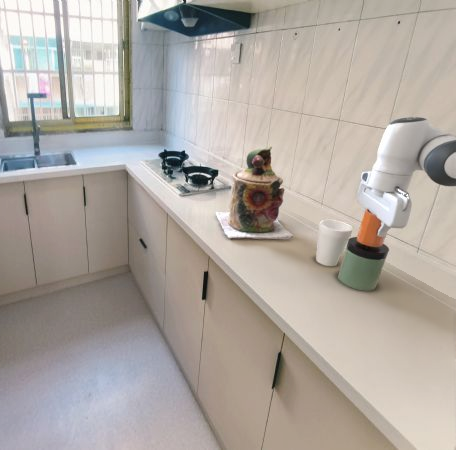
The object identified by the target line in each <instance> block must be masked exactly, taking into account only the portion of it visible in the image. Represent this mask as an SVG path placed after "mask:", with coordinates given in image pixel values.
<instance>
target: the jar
mask: <svg viewBox="0 0 456 450" xmlns="http://www.w3.org/2000/svg"><path fill="white" fill-rule="evenodd" d="M345 247H346V248H345V250H344V254H343V258H342V261H341V265H340V268H339V271H338V276H337V278H338V280H339V281H340V282H341V283H342V284H343V285H345V286H347V287H348V288H351V289H355V290H358V291H364V292H365V291H366V292H368V291H369V292H370V291H374V290H375V289H376V288H377V285H378V282H379V280H380V276H381V274H382V271H383V268H384V265H385V263H386V260H387V257H386V258H384V259H369V258H365V257H361V256H358V255H356V254H354V253H352V252H351V251H349V250H348V249H347V246H345Z"/></svg>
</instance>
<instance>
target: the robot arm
mask: <svg viewBox="0 0 456 450" xmlns="http://www.w3.org/2000/svg"><path fill="white" fill-rule="evenodd" d="M384 130H385V131H384V133H382V136H381V140H380V142H379V144H378V145H379V146H378V149H377V153H376V154H377V157H376V160H375V163H374V164H373V166H372V169H371V170H369V171H363V172H362V173H361V175H360V180H361V181H360V184H359V186H358V191H357V194H356V202H357V204H358V205H360V206H361V207H363V213H364V212H365V209H367V208H368V211H369V212H371V213H372V214H375V215H377V218H378V219H380V220H381V221H382V222H381V225H382V226H381V227H380V229H377V232H376V234H377V235H378V236H379V237H385V236H387V234H388V231H390V229H404V228H405V227H406V226H407V225H408V223H409V218H410V214H411V211H412V205H413V202H412V199H411V197H410V193H409V191H408V189H409V187H410V184H411V180H412V178H413V175H414V172H416V171H421V172H422V171H423V172H424V173H425V174H426V175H427V176H428V178H429V179H430V180H431V181H432V182H434V183H435V184H437V185H440V186H443V187H456V135H454V134H451V133H449V132H446V131H445V130H442V129H440V128H438V127H436V126H435V125H434V124H432V123H431V122H430V121H429V120H428V119H427V118H425V117H418V116H415V117H414V116H411V117H410V116H409V117H402V118H397V119H394V120H392V121H391V122H390V123H389V124H388V125H387V127H386V128H385V129H384ZM386 233H387V234H386ZM385 238H386V237H385Z"/></svg>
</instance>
